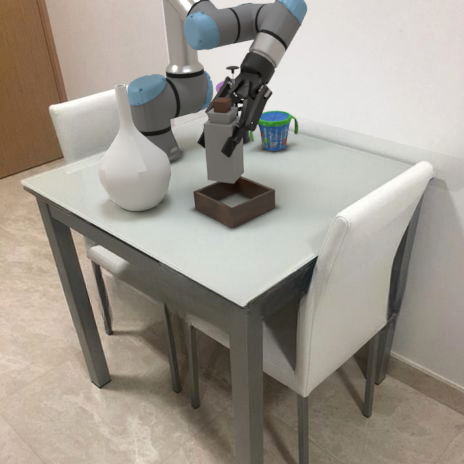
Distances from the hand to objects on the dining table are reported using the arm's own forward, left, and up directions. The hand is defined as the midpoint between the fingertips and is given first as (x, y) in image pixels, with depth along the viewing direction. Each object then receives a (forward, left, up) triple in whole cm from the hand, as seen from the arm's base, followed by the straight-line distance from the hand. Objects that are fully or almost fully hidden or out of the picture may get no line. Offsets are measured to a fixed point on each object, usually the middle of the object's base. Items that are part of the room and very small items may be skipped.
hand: (213, 149), depth 116 cm
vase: (-21, -9, -17) cm, 29 cm away
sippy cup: (-22, +43, -17) cm, 51 cm away
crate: (0, +6, -17) cm, 18 cm away
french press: (-37, +40, -17) cm, 57 cm away
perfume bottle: (0, +3, -8) cm, 8 cm away
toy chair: (-49, +47, -17) cm, 70 cm away
